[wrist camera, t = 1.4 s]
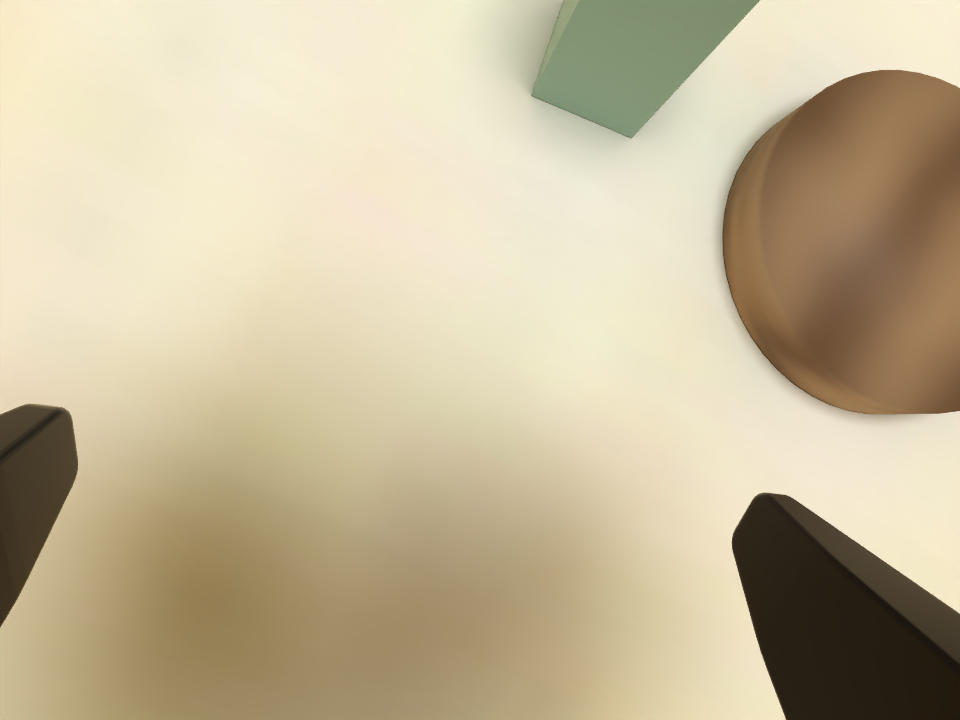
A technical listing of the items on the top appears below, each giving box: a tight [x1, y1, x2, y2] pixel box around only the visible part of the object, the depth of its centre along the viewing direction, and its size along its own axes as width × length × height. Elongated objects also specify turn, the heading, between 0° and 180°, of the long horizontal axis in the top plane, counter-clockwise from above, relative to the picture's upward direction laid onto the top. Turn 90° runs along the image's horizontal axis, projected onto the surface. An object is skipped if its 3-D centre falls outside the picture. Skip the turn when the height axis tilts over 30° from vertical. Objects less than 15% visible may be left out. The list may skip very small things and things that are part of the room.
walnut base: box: [723, 70, 960, 414], centre depth 25 cm, size 14×14×2 cm
